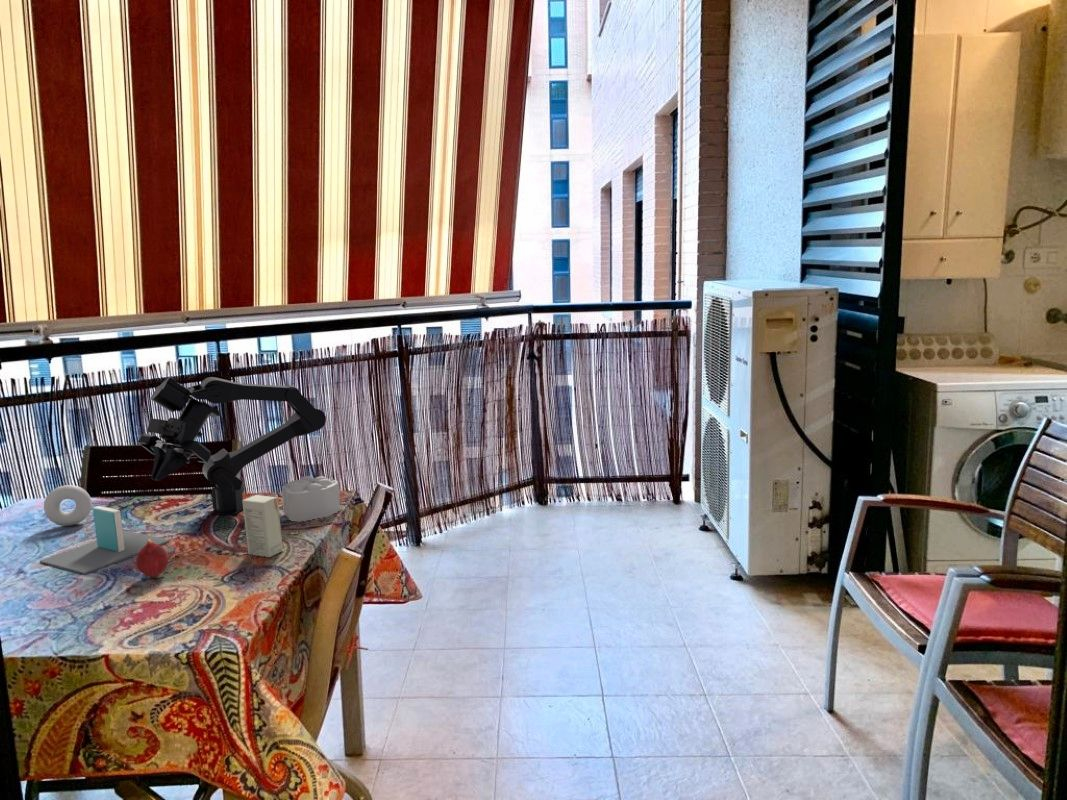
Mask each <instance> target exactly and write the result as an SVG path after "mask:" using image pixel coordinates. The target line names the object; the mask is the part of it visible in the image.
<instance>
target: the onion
mask: <svg viewBox="0 0 1067 800" xmlns="http://www.w3.org/2000/svg"><path fill="white" fill-rule="evenodd" d="M169 560H170V559H169V554H168V552H167V550H166V549H165V547H163V545H158V544H155V543H154V542H152V540H150V539H148V541H147V545H145V546H144V547H143V548H142V549H141V550H140V551H139V553H138V554H137V555H136V557H135V566H136V569H137V570H138V571H139V572H140V573H141V574H142V575H144V576H146V577H149V578H151V579H155V578H157V577H158V576H159V575H161V574H162V573H163V572H164V571H165V569H166V568H167V566H168V565H169Z"/></svg>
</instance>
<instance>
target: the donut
mask: <svg viewBox="0 0 1067 800" xmlns="http://www.w3.org/2000/svg"><path fill="white" fill-rule="evenodd" d="M65 500H72V501H74V503H75V508H74V509H73V510H71V511H65V510H63V509H62V508H61V504H62V502H63V501H65ZM92 506H93V502H92V499H91V496H90V494H89V493H88V492H87V490H85V489H84V488H83V487H81V486H79V485H78V486H77V485H74V484H64V485H61V486H57V487H56V488H54V489H53V490H51V491H50V492H49V493H48V494H47V495H46V497H45V499H44V502H43V511H44V514H45V516H46V517H47V519H48V520H49V521H50V522H51V523H54V524H55V525H56V526H61V527H73V526H75V525H78V524H80V523H81V522H83V521H85V519H87V518H88V516H89V515H90V513H91V511H92V510H93V507H92Z"/></svg>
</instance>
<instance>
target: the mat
mask: <svg viewBox="0 0 1067 800" xmlns="http://www.w3.org/2000/svg"><path fill="white" fill-rule="evenodd" d="M122 531H123V540H124V548H125V550H123V551H120V552H118V551H114V550H109V549H105V548H101V547H98V546H97V540H94V541H92V542H89V543H86V544H84V545H81V546H78V547H74V548H72V549H69V550H66V551H64V552H61V553H58V554H55V555H52V556H49V557H46V558H43V559H41V560H39V563H40V562H41V563H40V564H44V563H45V564H44V565H47V564H48V565H47V566H51V565H52V567H55V568H58V569H64V570H66V571H70V572H74V573H79V574H82V575H87V574H91V573H93V572H96V571H98V570H101V569H103V568H106V567H108V566H111V565H114V564H116V563H119V562H121V561H123V560H127V559H129V558H132V557H134V556H137V555H138V553H139V551H140V550H141V549H142V548H143V547H144V546H145V545H147V541H148V539H150V540H152V542H154V543H155V544H158V545H160V546H163V545H165V544H167V543H170V539H165V538H162V537H156V536H152V535H149V534H142V533H139V532H134V531H129V530H122Z"/></svg>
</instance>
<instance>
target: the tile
mask: <svg viewBox="0 0 1067 800" xmlns="http://www.w3.org/2000/svg"><path fill="white" fill-rule="evenodd" d="M92 512H93V513H92V514H93V520H94V521H93V522H94V527H95V528H94V529H95V535H96V541H97V546H98V547H101V548H105V549H109V550H114V551H118V552H120V551H123V550H125V548H124V540H123V531H124V530H123V525H122V524H123V523H122V515H121V510H120V509H115V508H110V507H107V506H102V505H98V506H94V507H93V508H92Z"/></svg>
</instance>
